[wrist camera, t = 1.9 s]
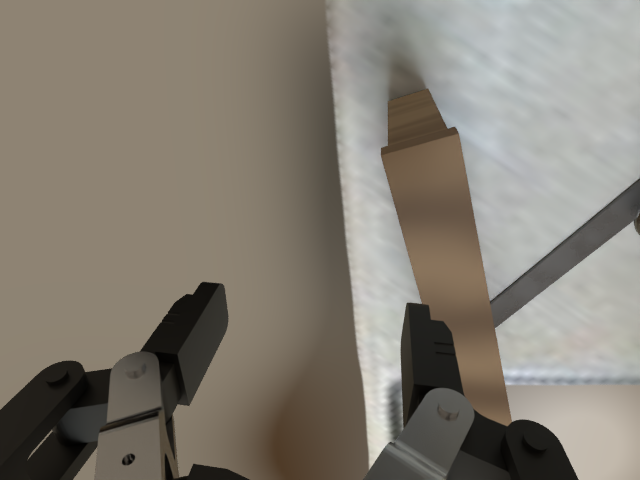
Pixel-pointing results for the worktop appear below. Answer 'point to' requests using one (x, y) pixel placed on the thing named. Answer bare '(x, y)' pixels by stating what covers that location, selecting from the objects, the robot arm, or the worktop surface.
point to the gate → (444, 242)
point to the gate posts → (569, 253)
